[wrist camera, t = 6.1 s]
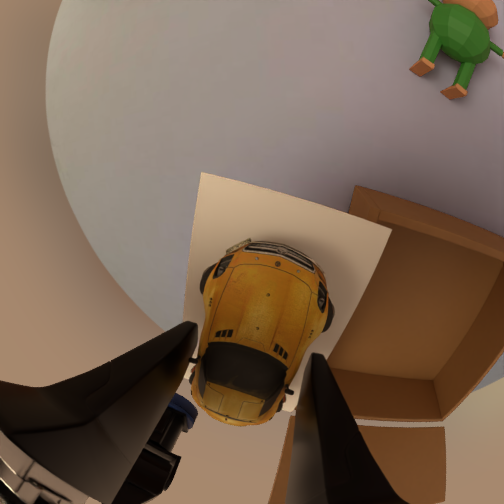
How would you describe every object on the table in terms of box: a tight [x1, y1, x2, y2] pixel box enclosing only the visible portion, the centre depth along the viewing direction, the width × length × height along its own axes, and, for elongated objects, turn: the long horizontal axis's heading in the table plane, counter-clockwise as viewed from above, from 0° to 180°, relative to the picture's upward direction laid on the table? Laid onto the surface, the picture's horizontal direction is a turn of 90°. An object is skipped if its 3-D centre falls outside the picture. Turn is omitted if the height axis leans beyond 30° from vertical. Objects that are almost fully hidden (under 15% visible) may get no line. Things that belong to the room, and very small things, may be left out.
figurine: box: [409, 0, 504, 99], centre depth 7 cm, size 4×7×12 cm
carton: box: [294, 185, 504, 422], centre depth 16 cm, size 16×15×6 cm
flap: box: [268, 416, 446, 504], centre depth 13 cm, size 8×15×1 cm
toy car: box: [183, 172, 392, 426], centre depth 9 cm, size 4×8×2 cm, turn 167°
